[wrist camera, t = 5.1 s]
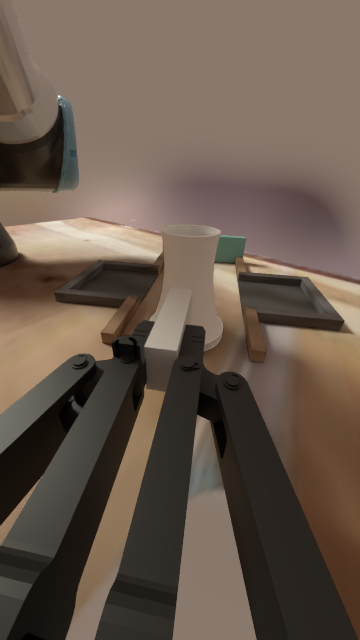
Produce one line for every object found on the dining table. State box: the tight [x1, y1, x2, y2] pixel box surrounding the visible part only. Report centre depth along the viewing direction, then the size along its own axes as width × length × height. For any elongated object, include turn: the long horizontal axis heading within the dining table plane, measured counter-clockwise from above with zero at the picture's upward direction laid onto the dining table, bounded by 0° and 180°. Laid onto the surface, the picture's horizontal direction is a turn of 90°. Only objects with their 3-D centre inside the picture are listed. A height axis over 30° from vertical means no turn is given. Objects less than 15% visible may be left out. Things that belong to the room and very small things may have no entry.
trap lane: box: [54, 251, 344, 362], centre depth 32 cm, size 27×33×1 cm
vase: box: [149, 224, 223, 351], centre depth 22 cm, size 8×8×10 cm
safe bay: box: [163, 235, 246, 263], centre depth 43 cm, size 1×15×4 cm, turn 82°
